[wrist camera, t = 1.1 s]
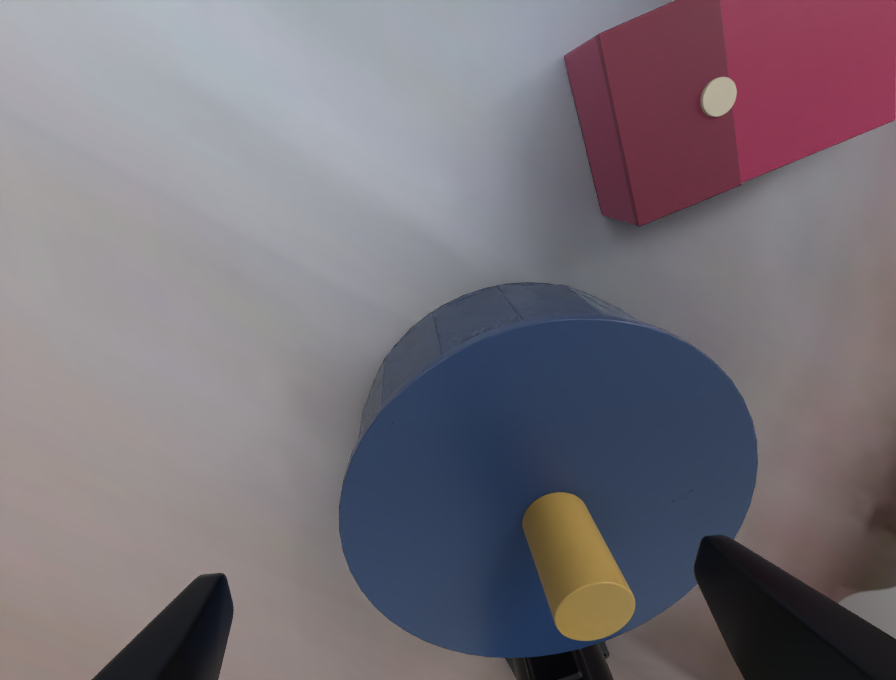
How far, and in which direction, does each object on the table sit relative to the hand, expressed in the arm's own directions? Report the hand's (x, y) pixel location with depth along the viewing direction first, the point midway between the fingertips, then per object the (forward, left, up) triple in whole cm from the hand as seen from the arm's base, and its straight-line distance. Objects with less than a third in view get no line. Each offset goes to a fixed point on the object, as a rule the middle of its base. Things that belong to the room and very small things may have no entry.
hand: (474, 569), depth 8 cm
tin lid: (-7, -2, -8) cm, 11 cm away
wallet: (+5, -14, -14) cm, 20 cm away
